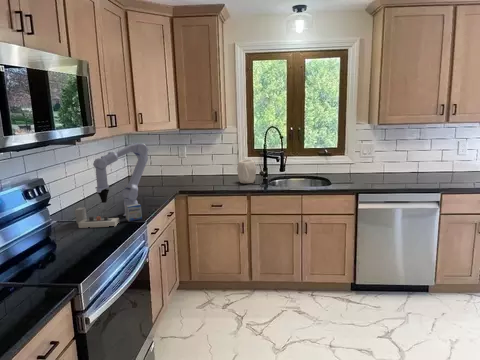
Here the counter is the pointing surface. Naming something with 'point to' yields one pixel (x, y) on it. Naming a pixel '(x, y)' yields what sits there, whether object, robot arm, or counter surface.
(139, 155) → the robot arm
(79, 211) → the grey cord holder
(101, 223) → the power strip
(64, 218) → the counter surface
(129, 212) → the medicine box
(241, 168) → the white faceted vase
